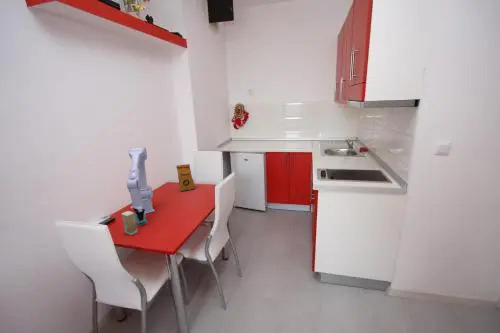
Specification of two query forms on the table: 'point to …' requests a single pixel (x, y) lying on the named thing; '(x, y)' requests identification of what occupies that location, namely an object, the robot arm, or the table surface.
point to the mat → (141, 223)
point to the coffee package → (185, 177)
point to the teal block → (138, 219)
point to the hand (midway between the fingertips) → (140, 218)
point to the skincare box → (129, 223)
